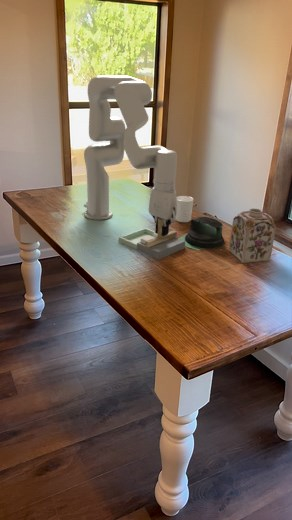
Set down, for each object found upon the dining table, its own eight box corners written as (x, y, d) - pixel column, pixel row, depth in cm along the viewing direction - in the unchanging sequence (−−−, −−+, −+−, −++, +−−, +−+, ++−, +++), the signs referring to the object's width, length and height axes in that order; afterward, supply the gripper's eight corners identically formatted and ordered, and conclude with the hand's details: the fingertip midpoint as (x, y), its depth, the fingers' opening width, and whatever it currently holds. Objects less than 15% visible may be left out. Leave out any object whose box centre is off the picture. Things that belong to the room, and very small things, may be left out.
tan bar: (144, 245, 156) (145, 222, 152) (172, 234, 166) (174, 213, 162) (149, 247, 154) (150, 224, 150) (177, 236, 165) (179, 214, 161)
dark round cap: (238, 241, 172) (241, 219, 168) (213, 256, 158) (215, 233, 154) (196, 228, 183) (198, 208, 179) (169, 242, 169) (171, 220, 165)
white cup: (191, 217, 195) (193, 196, 190) (191, 223, 188) (193, 201, 183) (174, 216, 195) (176, 195, 191) (173, 222, 188) (175, 200, 184)
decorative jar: (241, 263, 153) (248, 216, 145) (227, 250, 163) (233, 205, 155) (271, 261, 156) (279, 214, 148) (255, 248, 166) (262, 204, 158)
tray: (118, 242, 166) (118, 237, 165) (145, 232, 176) (145, 227, 175) (136, 250, 160) (136, 244, 159) (163, 239, 170) (163, 234, 169)
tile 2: (153, 237, 164) (153, 233, 164) (160, 234, 167) (161, 230, 167) (161, 240, 162) (162, 236, 161) (169, 237, 164) (169, 233, 164)
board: (136, 250, 160) (136, 242, 159) (163, 239, 170) (163, 232, 169) (158, 259, 153) (158, 252, 152) (184, 248, 163) (185, 241, 162)
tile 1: (140, 241, 160) (140, 238, 159) (148, 238, 163) (148, 235, 162) (149, 245, 157) (149, 241, 156) (157, 242, 160) (157, 238, 159)
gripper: (141, 182, 153) (139, 230, 161) (175, 193, 143) (171, 243, 151) (155, 179, 158) (152, 225, 166) (188, 189, 148) (184, 237, 156)
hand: (161, 233), depth 159 cm, fingers closed on tan bar, 2 cm apart
